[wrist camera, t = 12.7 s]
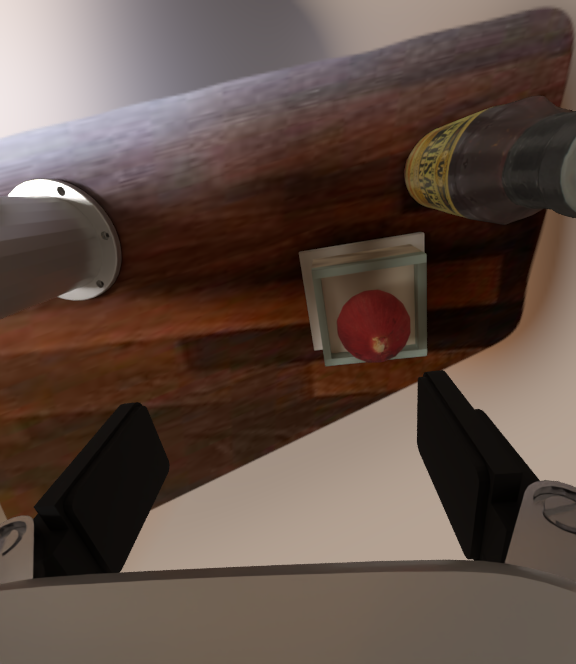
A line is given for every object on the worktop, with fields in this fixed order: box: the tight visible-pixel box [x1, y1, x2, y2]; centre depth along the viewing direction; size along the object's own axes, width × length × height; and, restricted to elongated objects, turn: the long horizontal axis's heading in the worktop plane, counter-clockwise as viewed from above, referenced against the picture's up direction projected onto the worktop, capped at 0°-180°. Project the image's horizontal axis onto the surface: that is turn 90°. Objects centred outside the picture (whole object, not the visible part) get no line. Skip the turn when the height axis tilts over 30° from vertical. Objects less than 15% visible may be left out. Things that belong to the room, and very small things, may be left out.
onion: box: [337, 289, 411, 362], centre depth 26 cm, size 6×6×8 cm
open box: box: [299, 232, 427, 366], centre depth 31 cm, size 12×11×6 cm
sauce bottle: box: [404, 96, 576, 225], centre depth 20 cm, size 7×6×20 cm
